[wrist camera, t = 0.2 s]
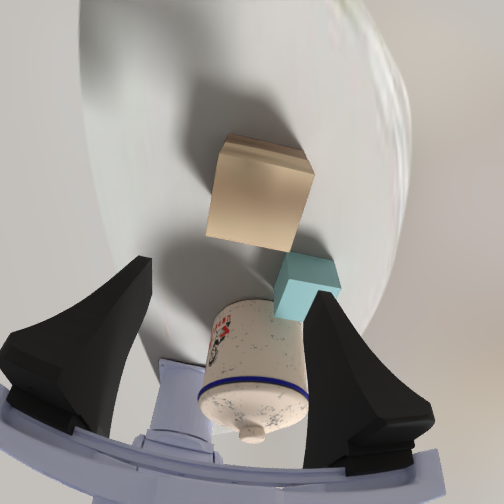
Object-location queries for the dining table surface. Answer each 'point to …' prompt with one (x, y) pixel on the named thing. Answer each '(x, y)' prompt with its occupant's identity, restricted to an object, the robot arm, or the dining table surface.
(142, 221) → the dining table surface
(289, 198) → the oak slab upper
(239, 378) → the ceramic jar
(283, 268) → the teal block
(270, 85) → the dining table surface
